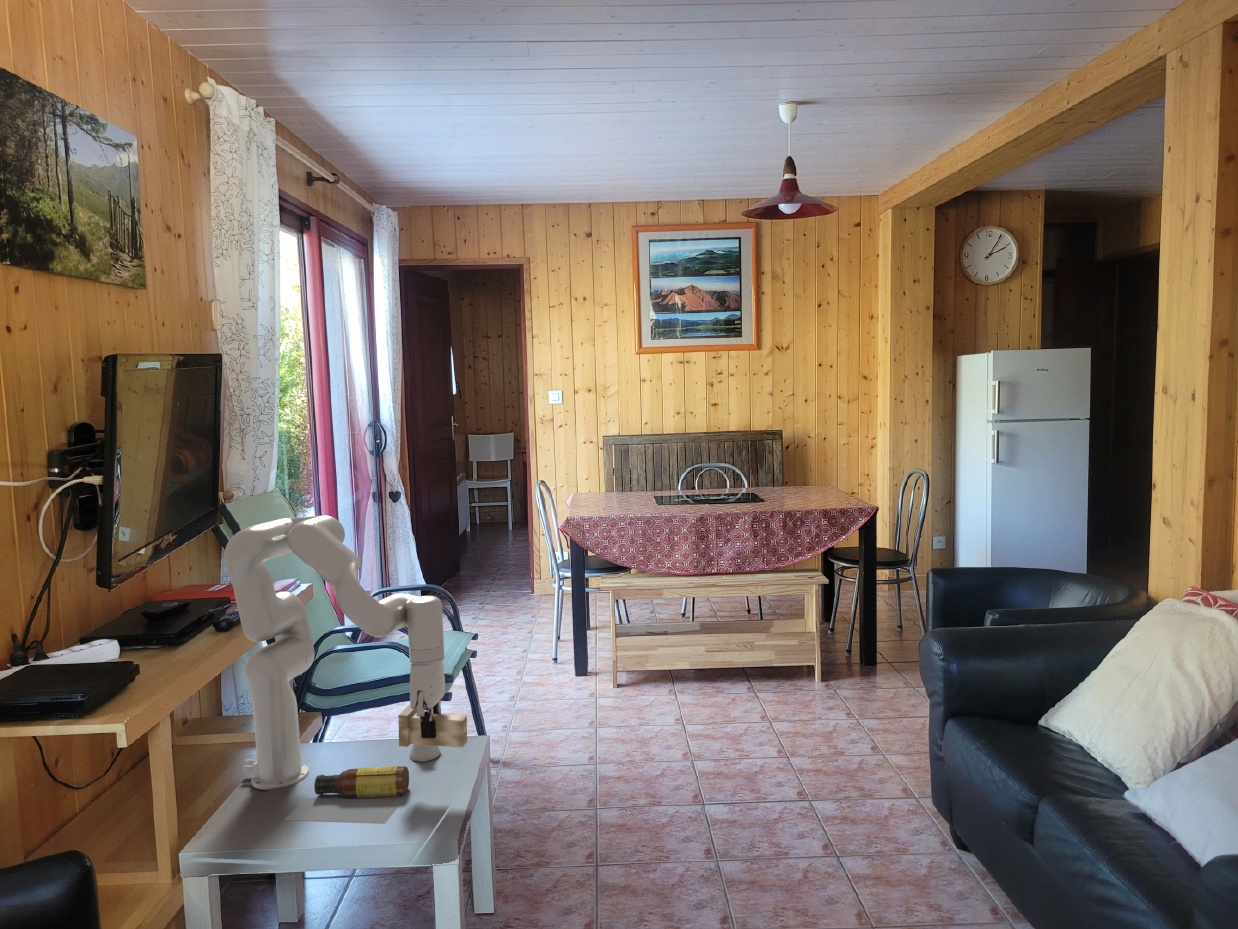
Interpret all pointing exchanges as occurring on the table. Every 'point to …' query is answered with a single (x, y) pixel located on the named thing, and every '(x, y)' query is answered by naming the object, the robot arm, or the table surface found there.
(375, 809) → the mat
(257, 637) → the robot arm
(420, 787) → the table surface
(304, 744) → the table surface
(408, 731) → the beige t-shaped block
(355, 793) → the sauce bottle
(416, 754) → the flask
